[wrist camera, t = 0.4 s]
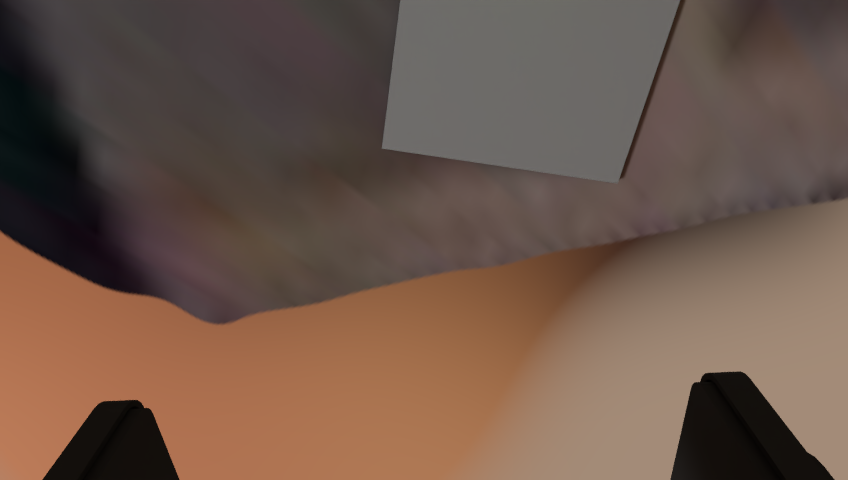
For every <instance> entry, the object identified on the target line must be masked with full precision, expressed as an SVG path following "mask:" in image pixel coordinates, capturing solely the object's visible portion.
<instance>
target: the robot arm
mask: <svg viewBox="0 0 848 480" xmlns="http://www.w3.org/2000/svg"><path fill="white" fill-rule="evenodd" d="M43 480H179V478H178V475H177V473H176V470H175V468H174V465H173V463H172V460H171V458H170V455H169V453H168V450H167V448H166V445H165V443H164V440H163V438H162V435H161V433H160V430H159V428H158V425H157V423H156V420H155V418H154V415H153V413H152V411H151V410H150V409H149V408H144V406H143V405H142V403H141V402H139V401H138V400H125V401H104V402H101V403H99V404H98V405H97V406H96V407H95V408H94V410H93V411H92V412H91V414H90V415H89V416H88V418H87V419H86V420H85V422H84V423H83V425H82V426H81V427H80V429H79V430H78V431H77V433H76V434H75V436H74V437H73V438H72V440H71V441H70V443H69V444H68V445H67V447H66V448H65V449H64V451H63V452H62V454H61V455H60V456H59V458H58V459H57V460H56V462H55V463H54V465H53V466H52V467H51V469H50V470H49V471H48V473H47V474H46V476H45V477H44V478H43ZM671 480H834V479H833V477H832V476H831V475H830V474H829V472H828V471H827V470H826V468H825V467H824V466H823V465H822V464H821V463H820V462H819V461H818V460H817V459H816V458H815V457H814V456H812V455H811V454H809V453H807V452H806V450H805V449H804V448H803V446H802V445H801V444H800V443H799V441H798V440H797V439H796V437H795V436H794V435H793V433H792V432H791V431H790V430H789V428H788V427H787V426H786V425H785V423H784V422H783V421H782V419H781V418H780V417H779V415H778V414H777V413H776V412H775V410H774V409H773V408H772V406H771V405H770V404H769V402H768V401H767V400H766V399H765V397H764V396H763V395H762V393H761V392H760V391H759V390H758V388H757V387H756V386H755V384H754V383H753V382H752V381H751V379H750V378H749V377H748V376H747V375H746V374H745V373H743V372H721V373H705V374H704V375H703V376H702V378H701V381H700V382H696V383H694V384H693V385H692V388H691V391H690V396H689V400H688V405H687V409H686V413H685V418H684V422H683V427H682V431H681V436H680V440H679V444H678V449H677V453H676V458H675V462H674V467H673V471H672V475H671Z"/></svg>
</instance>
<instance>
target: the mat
mask: <svg viewBox="0 0 848 480" xmlns="http://www.w3.org/2000/svg"><path fill="white" fill-rule="evenodd" d="M679 2H680V0H400V8H399V16H398V24H397V32H396V40H395V48H394V56H393V64H392V72H391V80H390V88H389V96H388V104H387V112H386V120H385V128H384V136H383V144H382V148H383V149H389V150H396V151H403V152H410V153H416V154H423V155H430V156H436V157H443V158H450V159H457V160H463V161H470V162H477V163H483V164H490V165H497V166H504V167H510V168H517V169H524V170H530V171H537V172H544V173H551V174H557V175H564V176H571V177H577V178H584V179H591V180H598V181H604V182H611V183H618V181H619V178H620V175H621V172H622V169H623V166H624V163H625V160H626V158H627V155H628V152H629V149H630V146H631V143H632V140H633V137H634V134H635V131H636V128H637V125H638V122H639V119H640V117H641V114H642V111H643V108H644V105H645V102H646V99H647V96H648V93H649V90H650V87H651V84H652V81H653V78H654V76H655V73H656V70H657V67H658V64H659V61H660V58H661V55H662V52H663V49H664V46H665V43H666V40H667V37H668V34H669V32H670V29H671V26H672V23H673V20H674V17H675V14H676V11H677V8H678V5H679Z"/></svg>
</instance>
